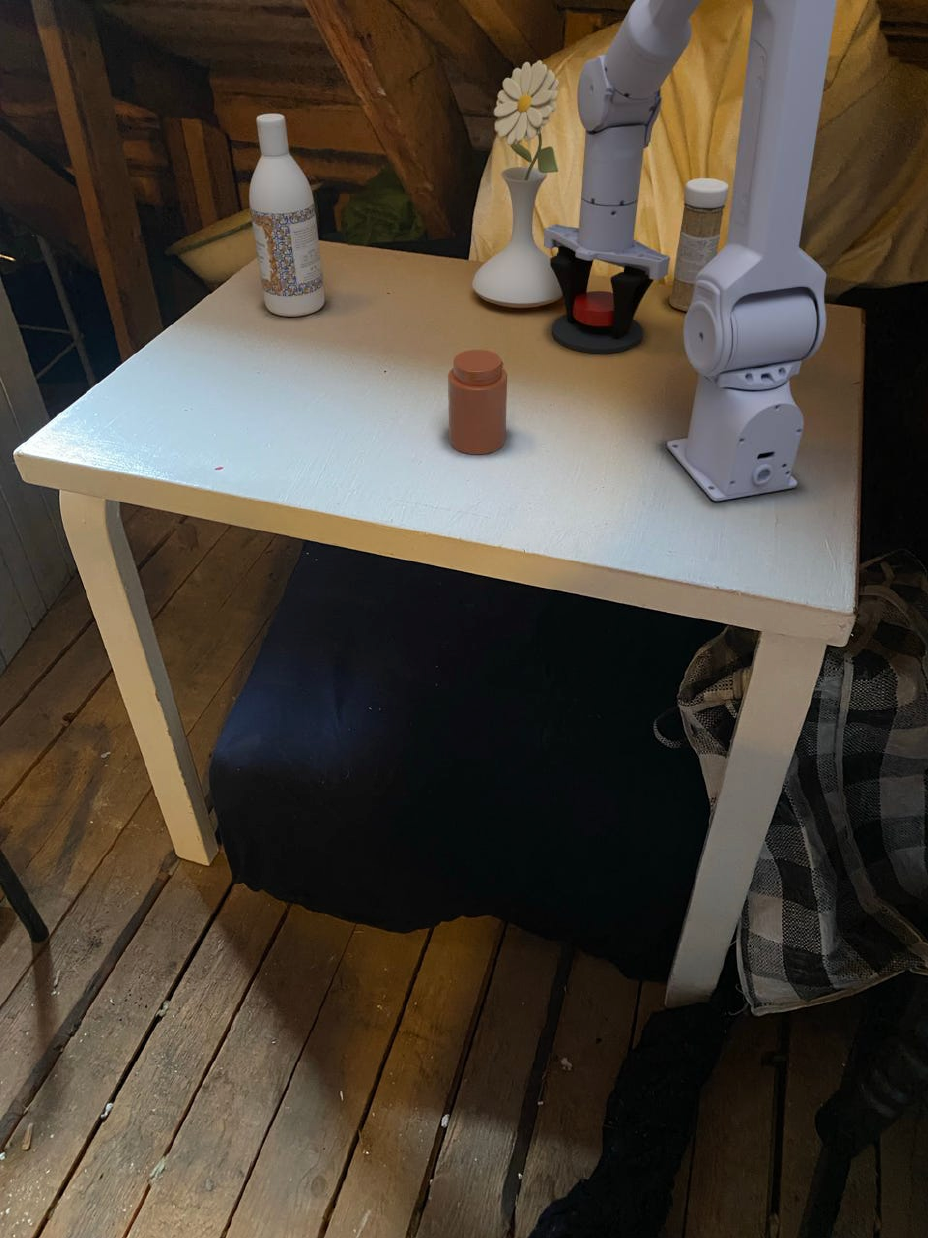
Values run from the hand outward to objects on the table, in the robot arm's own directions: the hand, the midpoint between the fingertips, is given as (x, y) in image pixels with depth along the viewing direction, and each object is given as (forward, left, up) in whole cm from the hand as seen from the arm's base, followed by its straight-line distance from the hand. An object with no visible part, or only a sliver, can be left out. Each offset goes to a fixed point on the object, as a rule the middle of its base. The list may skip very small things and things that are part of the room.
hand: (597, 327), depth 101 cm
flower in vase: (+11, +5, -1) cm, 12 cm away
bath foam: (+17, +31, -1) cm, 35 cm away
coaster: (0, 0, -1) cm, 1 cm away
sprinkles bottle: (+4, -13, -1) cm, 14 cm away
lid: (0, 0, +3) cm, 3 cm away
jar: (-18, +19, -1) cm, 26 cm away
